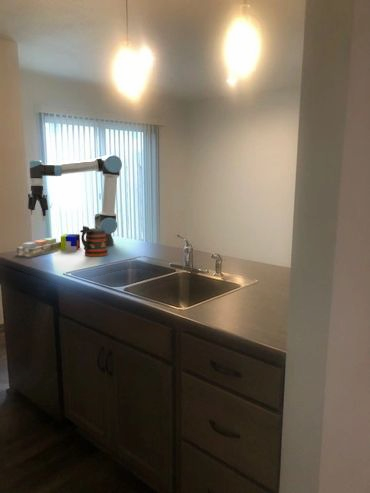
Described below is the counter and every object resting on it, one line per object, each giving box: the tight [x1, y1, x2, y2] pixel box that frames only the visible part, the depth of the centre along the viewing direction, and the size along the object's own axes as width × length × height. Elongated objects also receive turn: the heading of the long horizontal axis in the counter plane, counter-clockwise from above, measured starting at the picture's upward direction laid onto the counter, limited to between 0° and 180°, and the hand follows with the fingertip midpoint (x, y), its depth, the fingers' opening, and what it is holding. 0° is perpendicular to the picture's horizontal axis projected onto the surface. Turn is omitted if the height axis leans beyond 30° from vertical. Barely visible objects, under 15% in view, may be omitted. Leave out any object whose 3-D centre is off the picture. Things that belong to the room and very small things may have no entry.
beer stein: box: [79, 225, 109, 258], centre depth 245 cm, size 19×15×20 cm
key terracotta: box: [32, 239, 47, 246], centre depth 252 cm, size 6×6×4 cm
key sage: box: [42, 237, 57, 244], centre depth 260 cm, size 6×6×4 cm
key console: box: [16, 240, 61, 258], centre depth 253 cm, size 12×28×5 cm, turn 158°
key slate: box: [21, 241, 37, 248], centre depth 244 cm, size 6×6×4 cm
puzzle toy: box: [60, 233, 81, 252], centre depth 262 cm, size 10×10×10 cm
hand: (38, 220), depth 249 cm, fingers open, 7 cm apart
